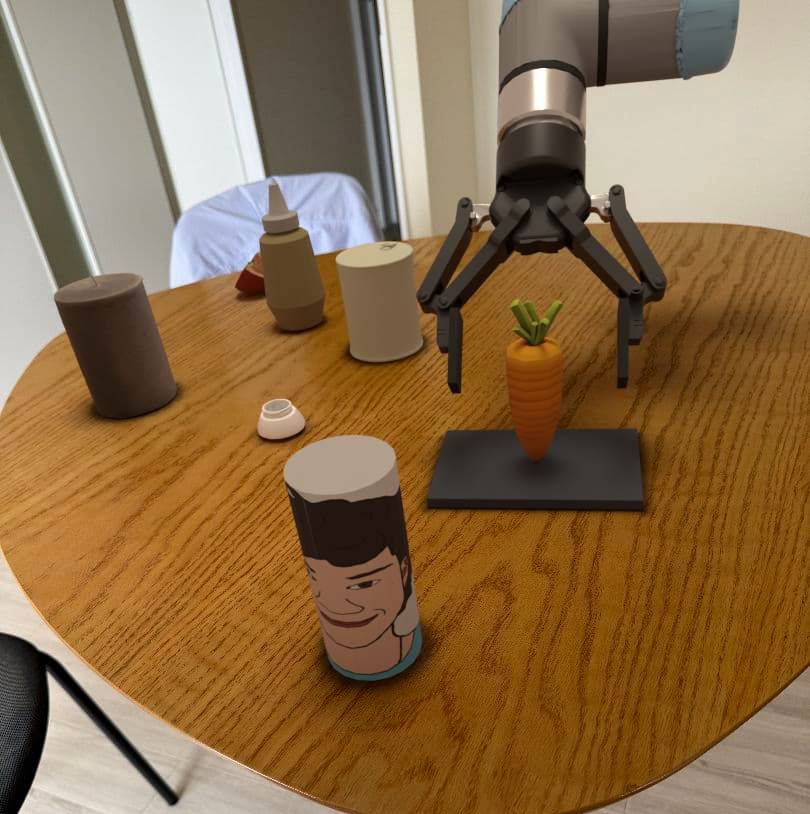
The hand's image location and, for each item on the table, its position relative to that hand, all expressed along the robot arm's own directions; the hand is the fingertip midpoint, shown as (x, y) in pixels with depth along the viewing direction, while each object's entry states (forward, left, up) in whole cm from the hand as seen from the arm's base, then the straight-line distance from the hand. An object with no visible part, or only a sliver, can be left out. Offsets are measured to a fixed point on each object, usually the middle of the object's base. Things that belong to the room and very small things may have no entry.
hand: (536, 386), depth 64 cm
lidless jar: (+27, -10, -9) cm, 30 cm away
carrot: (0, -2, -8) cm, 9 cm away
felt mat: (0, -2, -9) cm, 9 cm away
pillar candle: (+48, -18, -9) cm, 52 cm away
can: (+20, -31, -9) cm, 38 cm away
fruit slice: (+45, -54, -9) cm, 71 cm away
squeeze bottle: (+34, -40, -9) cm, 53 cm away
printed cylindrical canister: (+10, +21, -9) cm, 25 cm away
